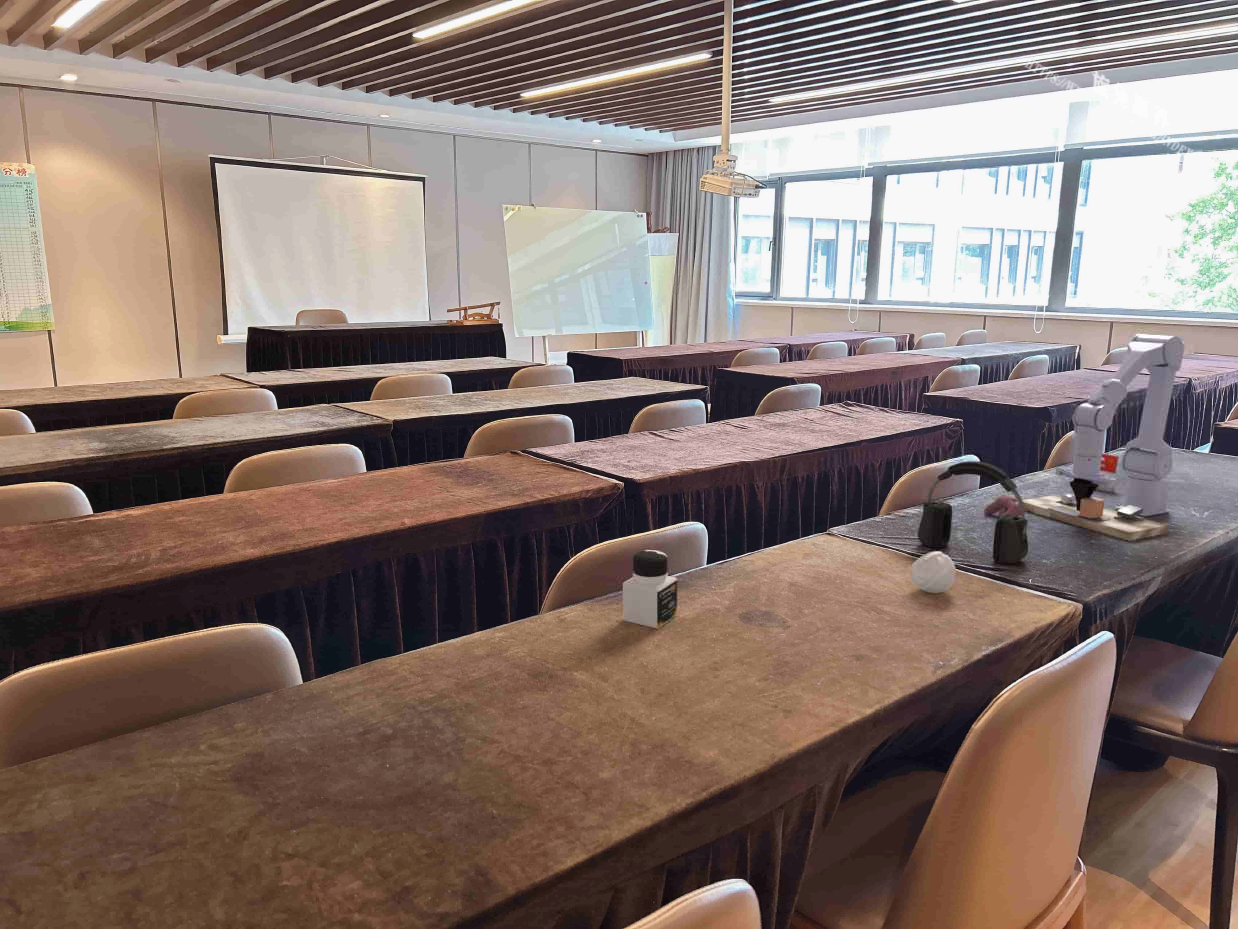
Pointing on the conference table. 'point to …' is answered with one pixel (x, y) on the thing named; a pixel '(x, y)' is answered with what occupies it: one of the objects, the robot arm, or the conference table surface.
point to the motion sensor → (933, 572)
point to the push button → (1068, 499)
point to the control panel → (1096, 519)
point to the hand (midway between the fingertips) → (1081, 510)
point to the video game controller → (1004, 506)
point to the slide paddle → (1091, 507)
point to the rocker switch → (1129, 511)
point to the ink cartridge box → (1108, 469)
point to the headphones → (1007, 529)
